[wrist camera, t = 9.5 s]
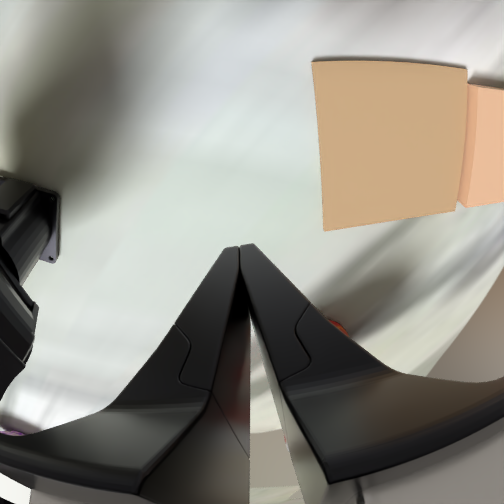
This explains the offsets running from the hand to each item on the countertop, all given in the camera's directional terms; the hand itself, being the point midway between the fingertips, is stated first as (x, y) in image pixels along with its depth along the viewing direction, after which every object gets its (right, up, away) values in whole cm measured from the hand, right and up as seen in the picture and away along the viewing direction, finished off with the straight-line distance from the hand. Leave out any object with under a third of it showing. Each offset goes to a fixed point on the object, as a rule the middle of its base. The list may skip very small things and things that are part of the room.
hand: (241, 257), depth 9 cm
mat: (+11, +8, +10) cm, 17 cm away
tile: (+17, +8, +10) cm, 21 cm away
